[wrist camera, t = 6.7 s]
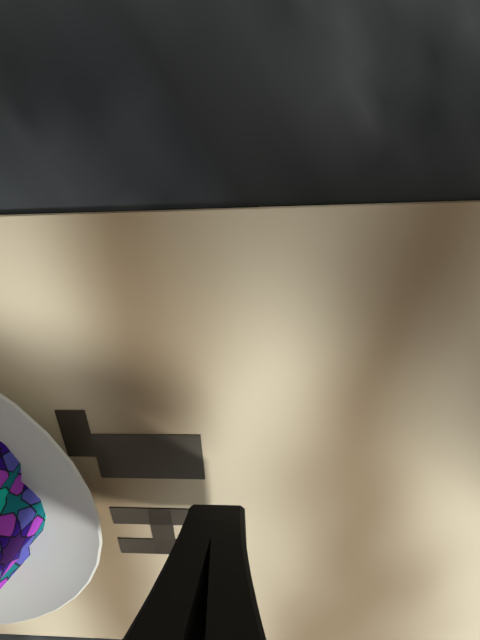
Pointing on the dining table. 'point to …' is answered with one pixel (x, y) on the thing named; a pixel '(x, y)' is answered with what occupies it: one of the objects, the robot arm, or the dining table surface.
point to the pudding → (41, 521)
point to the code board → (263, 402)
